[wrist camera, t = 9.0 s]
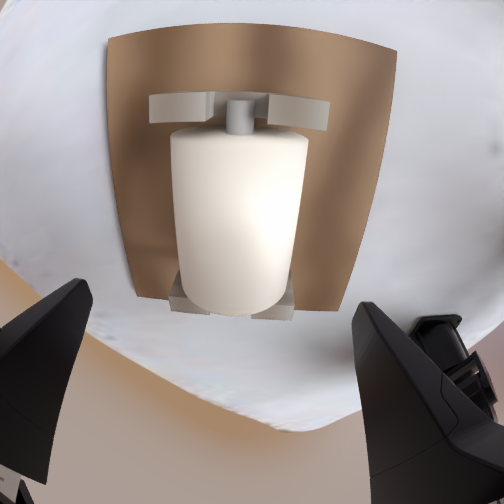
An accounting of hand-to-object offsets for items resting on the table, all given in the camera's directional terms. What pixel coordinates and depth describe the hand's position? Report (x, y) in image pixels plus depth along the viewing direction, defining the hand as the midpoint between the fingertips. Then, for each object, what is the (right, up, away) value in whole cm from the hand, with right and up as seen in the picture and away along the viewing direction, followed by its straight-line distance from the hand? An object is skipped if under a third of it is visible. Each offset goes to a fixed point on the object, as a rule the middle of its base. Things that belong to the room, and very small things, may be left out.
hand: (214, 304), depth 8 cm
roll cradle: (0, +6, +9) cm, 11 cm away
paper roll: (0, +3, +5) cm, 6 cm away
